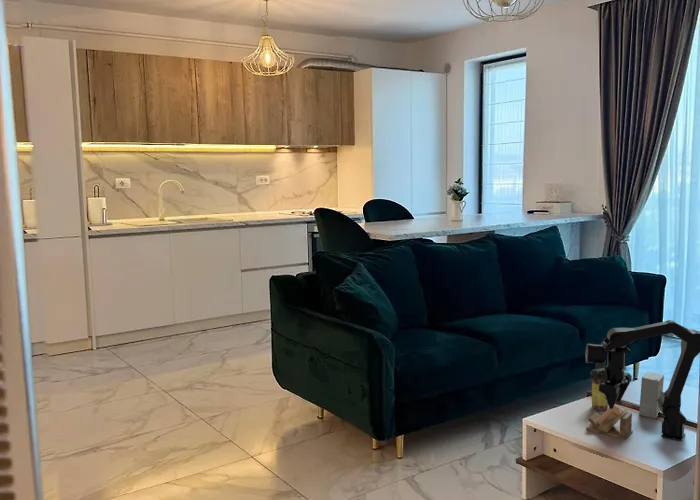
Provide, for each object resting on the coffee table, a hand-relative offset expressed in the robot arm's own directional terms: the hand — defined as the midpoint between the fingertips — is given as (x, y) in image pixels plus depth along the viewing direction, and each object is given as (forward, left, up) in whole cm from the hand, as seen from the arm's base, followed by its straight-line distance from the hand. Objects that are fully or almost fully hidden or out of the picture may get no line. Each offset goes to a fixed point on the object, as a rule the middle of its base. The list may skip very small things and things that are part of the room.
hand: (614, 405), depth 232 cm
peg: (0, 0, -6) cm, 6 cm away
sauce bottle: (+12, -21, -10) cm, 26 cm away
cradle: (+2, 0, -10) cm, 10 cm away
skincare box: (-6, -26, -10) cm, 29 cm away
